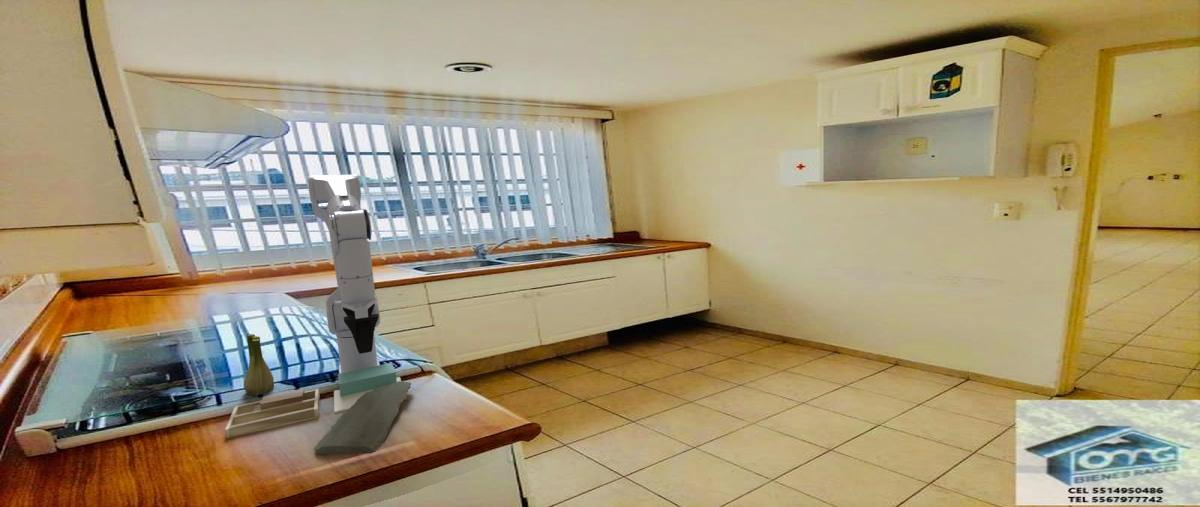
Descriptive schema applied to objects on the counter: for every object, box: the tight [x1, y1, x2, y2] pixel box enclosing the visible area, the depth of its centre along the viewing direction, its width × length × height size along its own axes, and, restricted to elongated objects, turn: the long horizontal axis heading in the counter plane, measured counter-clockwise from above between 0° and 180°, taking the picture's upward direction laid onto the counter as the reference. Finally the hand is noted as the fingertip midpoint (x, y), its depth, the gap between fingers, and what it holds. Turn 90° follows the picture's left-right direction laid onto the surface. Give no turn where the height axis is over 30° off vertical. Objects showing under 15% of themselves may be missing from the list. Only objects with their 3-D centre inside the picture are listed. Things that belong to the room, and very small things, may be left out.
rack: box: [224, 388, 321, 440], centre depth 86 cm, size 10×13×2 cm
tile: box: [333, 376, 407, 414], centre depth 93 cm, size 10×12×1 cm
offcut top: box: [260, 388, 305, 410], centre depth 88 cm, size 3×6×1 cm, turn 116°
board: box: [337, 362, 397, 397], centre depth 96 cm, size 2×10×6 cm
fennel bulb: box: [243, 333, 275, 396], centre depth 96 cm, size 6×5×12 cm
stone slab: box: [313, 380, 412, 456], centre depth 83 cm, size 22×3×10 cm
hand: (364, 346), depth 91 cm, fingers open, 7 cm apart
